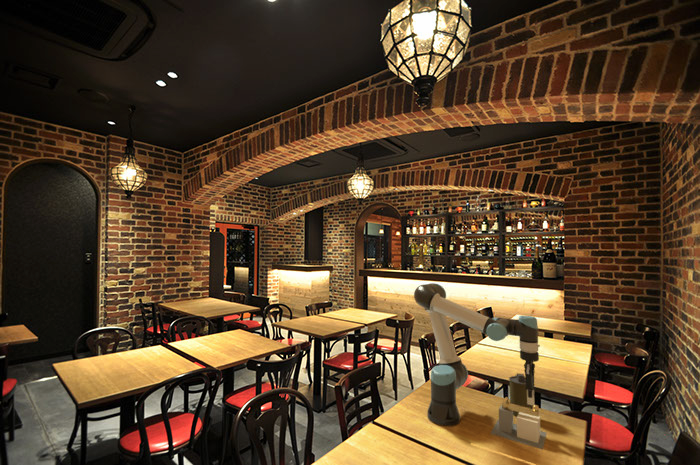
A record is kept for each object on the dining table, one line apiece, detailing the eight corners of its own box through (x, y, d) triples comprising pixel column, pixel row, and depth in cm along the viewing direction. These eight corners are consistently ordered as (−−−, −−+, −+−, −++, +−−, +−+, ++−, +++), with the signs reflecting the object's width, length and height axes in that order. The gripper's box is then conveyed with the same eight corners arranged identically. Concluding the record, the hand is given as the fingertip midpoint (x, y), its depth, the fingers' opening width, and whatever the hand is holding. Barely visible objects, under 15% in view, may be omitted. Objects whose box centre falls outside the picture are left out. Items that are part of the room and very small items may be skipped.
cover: (516, 436, 142) (516, 417, 143) (520, 429, 149) (519, 410, 149) (538, 443, 138) (537, 423, 138) (540, 434, 144) (540, 415, 145)
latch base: (490, 435, 145) (489, 412, 146) (498, 421, 158) (497, 399, 159) (542, 451, 133) (542, 426, 134) (546, 434, 146) (546, 411, 147)
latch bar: (500, 409, 148) (500, 399, 148) (503, 404, 153) (503, 395, 153) (537, 418, 139) (537, 408, 139) (539, 413, 144) (539, 403, 144)
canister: (536, 422, 157) (535, 379, 159) (513, 419, 159) (512, 377, 161) (529, 412, 168) (528, 371, 169) (507, 409, 170) (506, 369, 172)
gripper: (536, 355, 144) (538, 411, 142) (540, 349, 155) (541, 401, 153) (517, 352, 148) (519, 407, 147) (522, 346, 159) (523, 397, 157)
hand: (530, 404), depth 150 cm, fingers closed
